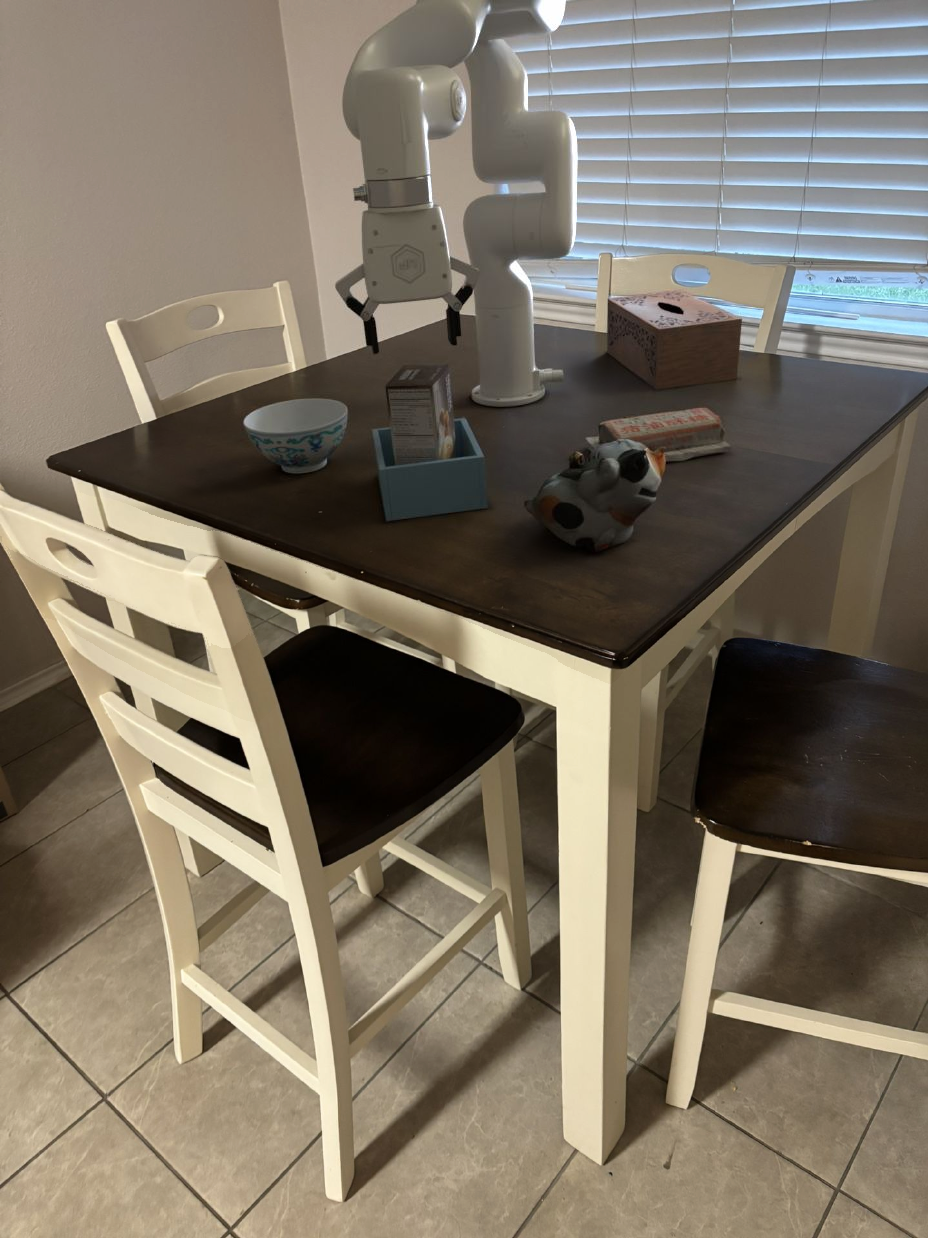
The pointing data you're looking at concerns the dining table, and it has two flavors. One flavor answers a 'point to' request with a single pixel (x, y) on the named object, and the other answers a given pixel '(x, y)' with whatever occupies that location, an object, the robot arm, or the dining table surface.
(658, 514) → the dining table surface
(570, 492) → the lucky cat figurine
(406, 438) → the coffee box
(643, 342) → the tissue box cover
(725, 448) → the packaged product
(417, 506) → the bin
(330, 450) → the chinaware
